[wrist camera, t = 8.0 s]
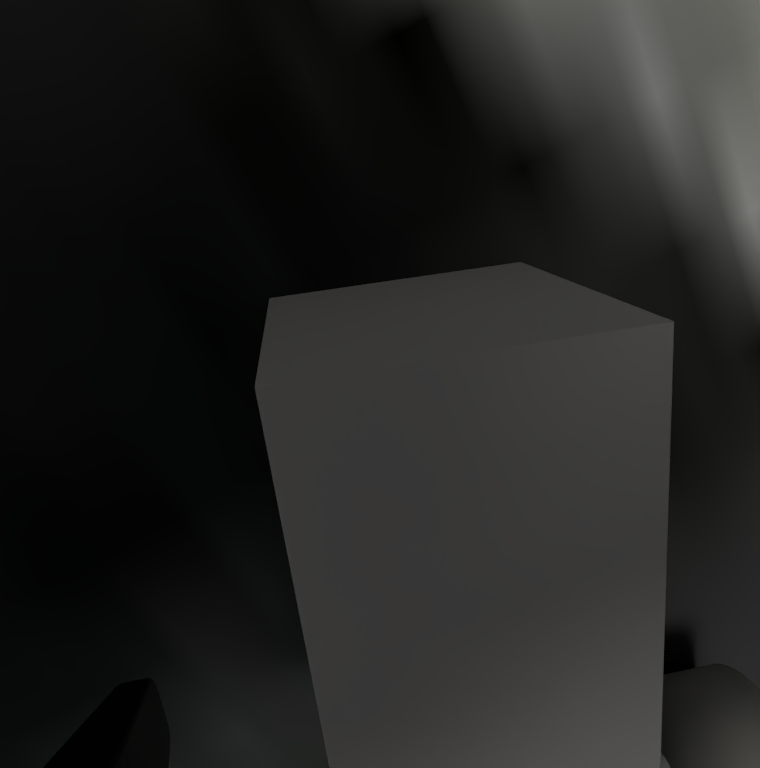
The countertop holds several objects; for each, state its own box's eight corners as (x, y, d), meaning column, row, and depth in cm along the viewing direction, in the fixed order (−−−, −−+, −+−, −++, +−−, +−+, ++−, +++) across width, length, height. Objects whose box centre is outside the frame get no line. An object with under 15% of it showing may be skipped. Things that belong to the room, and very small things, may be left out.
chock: (332, 662, 14) (357, 947, 9) (266, 297, 11) (246, 400, 6) (538, 621, 14) (676, 871, 9) (520, 260, 12) (701, 329, 6)
